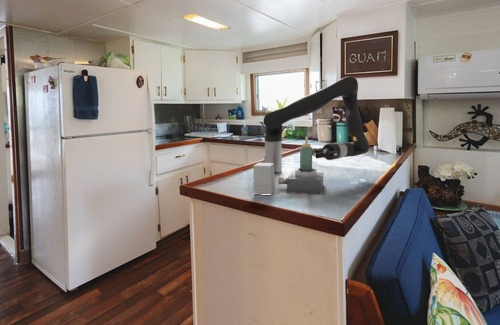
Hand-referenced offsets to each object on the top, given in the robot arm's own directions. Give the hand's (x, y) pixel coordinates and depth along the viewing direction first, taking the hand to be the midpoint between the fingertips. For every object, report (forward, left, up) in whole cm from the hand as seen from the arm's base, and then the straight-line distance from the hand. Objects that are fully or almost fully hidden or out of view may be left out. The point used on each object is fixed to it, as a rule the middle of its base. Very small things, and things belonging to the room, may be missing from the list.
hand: (309, 154), depth 136 cm
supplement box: (-17, -12, -15) cm, 26 cm away
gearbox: (-4, -1, -15) cm, 16 cm away
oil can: (-1, -1, -9) cm, 9 cm away
